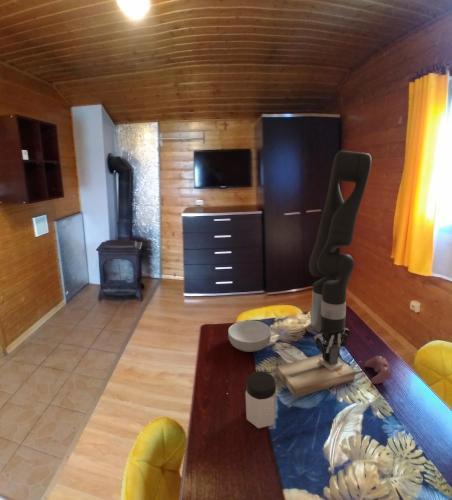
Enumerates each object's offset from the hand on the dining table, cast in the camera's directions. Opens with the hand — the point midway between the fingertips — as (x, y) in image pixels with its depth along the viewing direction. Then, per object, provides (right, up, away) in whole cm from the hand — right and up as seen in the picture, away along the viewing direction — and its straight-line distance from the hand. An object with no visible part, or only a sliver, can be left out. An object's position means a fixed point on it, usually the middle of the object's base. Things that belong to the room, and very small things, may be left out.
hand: (330, 359), depth 102 cm
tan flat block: (-5, -6, 0) cm, 8 cm away
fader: (0, -2, +1) cm, 2 cm away
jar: (-25, -11, -15) cm, 31 cm away
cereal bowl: (-26, -2, +19) cm, 32 cm away
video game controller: (+15, -5, -1) cm, 16 cm away
